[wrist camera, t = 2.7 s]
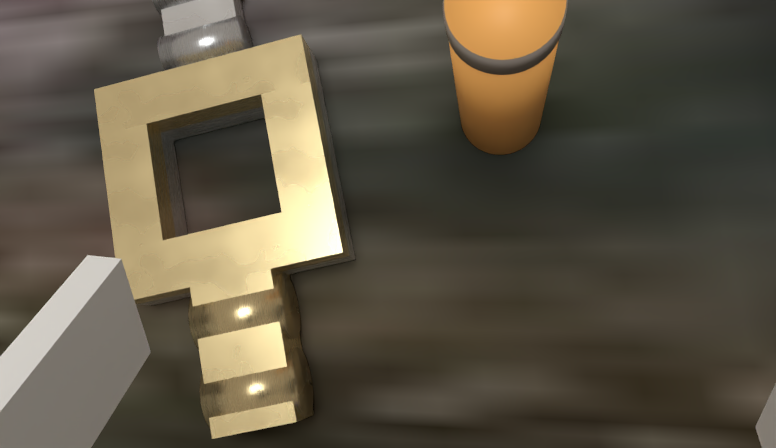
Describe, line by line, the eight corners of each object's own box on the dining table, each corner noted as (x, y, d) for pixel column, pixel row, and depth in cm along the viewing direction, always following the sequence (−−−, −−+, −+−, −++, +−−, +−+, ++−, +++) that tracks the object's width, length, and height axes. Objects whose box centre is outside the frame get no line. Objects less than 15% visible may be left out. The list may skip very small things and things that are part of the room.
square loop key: (293, -58, 38) (275, -93, 34) (383, 400, 33) (371, 407, 30) (109, -6, 39) (76, -36, 36) (170, 443, 34) (138, 453, 31)
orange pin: (558, 102, 34) (592, -22, 22) (514, 170, 34) (525, 82, 22) (487, 63, 35) (484, -76, 23) (444, 129, 35) (419, 23, 23)
